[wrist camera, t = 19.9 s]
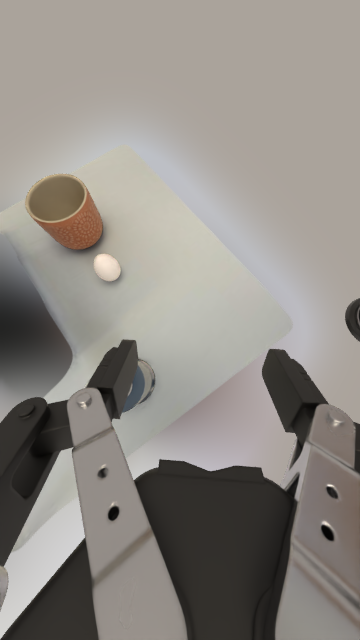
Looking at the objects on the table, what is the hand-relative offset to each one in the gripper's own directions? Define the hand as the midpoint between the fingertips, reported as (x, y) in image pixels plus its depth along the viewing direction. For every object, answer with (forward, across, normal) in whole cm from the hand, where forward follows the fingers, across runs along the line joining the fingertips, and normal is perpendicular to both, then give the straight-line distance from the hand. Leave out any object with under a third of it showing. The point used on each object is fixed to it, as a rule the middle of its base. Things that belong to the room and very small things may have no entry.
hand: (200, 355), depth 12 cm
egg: (+34, +19, +6) cm, 40 cm away
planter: (+42, +28, -1) cm, 51 cm away
